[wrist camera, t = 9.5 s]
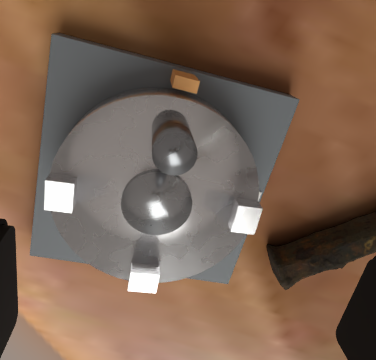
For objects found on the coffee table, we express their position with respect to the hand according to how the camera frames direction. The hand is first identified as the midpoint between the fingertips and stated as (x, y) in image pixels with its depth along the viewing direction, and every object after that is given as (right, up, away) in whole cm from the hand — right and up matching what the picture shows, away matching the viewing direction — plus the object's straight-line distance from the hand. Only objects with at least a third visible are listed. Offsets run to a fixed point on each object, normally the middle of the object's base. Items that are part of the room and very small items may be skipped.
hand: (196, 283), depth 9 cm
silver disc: (-3, +2, +18) cm, 19 cm away
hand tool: (+16, -1, +25) cm, 30 cm away
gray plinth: (-3, +3, +20) cm, 21 cm away
